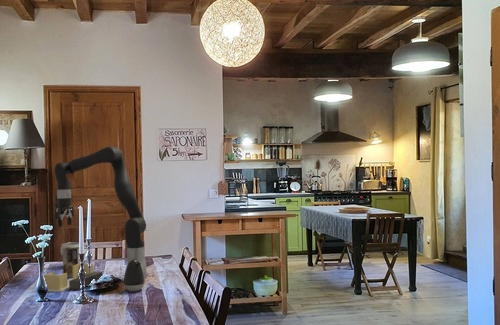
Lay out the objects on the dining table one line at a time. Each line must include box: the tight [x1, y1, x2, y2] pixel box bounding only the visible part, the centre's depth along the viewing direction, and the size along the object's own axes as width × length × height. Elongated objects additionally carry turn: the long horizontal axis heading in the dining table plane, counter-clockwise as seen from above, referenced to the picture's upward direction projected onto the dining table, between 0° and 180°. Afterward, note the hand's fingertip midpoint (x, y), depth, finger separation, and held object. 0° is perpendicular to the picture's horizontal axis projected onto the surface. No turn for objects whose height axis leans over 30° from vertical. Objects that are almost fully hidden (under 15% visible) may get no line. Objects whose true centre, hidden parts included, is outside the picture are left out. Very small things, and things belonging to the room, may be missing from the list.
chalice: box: [60, 241, 80, 256], centre depth 301 cm, size 14×14×15 cm
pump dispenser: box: [123, 260, 146, 293], centre depth 238 cm, size 10×10×15 cm
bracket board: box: [43, 263, 94, 293], centre depth 255 cm, size 12×30×8 cm, turn 165°
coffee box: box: [62, 247, 80, 278], centre depth 275 cm, size 9×6×16 cm
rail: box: [68, 271, 104, 291], centre depth 252 cm, size 5×22×5 cm, turn 165°
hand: (65, 225), depth 276 cm, fingers open, 8 cm apart
